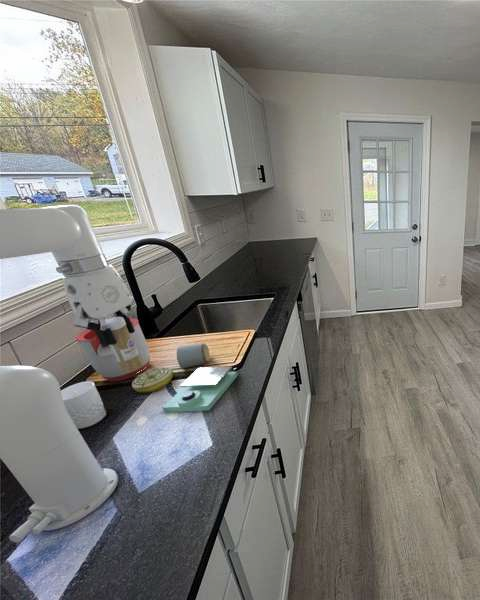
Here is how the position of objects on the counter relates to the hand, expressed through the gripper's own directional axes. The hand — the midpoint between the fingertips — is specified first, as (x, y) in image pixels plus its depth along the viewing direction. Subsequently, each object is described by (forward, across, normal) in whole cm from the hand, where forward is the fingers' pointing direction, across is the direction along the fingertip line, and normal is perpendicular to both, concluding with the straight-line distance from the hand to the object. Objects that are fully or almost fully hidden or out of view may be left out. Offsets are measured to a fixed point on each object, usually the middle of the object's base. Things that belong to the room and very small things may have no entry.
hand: (118, 337), depth 75 cm
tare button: (+23, +5, -6) cm, 24 cm away
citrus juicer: (+26, +23, +28) cm, 44 cm away
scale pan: (+23, +14, -6) cm, 28 cm away
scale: (+26, +11, -6) cm, 29 cm away
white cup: (+26, +1, +20) cm, 33 cm away
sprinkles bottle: (+9, 0, 0) cm, 9 cm away
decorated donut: (+26, +16, +13) cm, 33 cm away
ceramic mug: (+26, +28, +7) cm, 39 cm away
